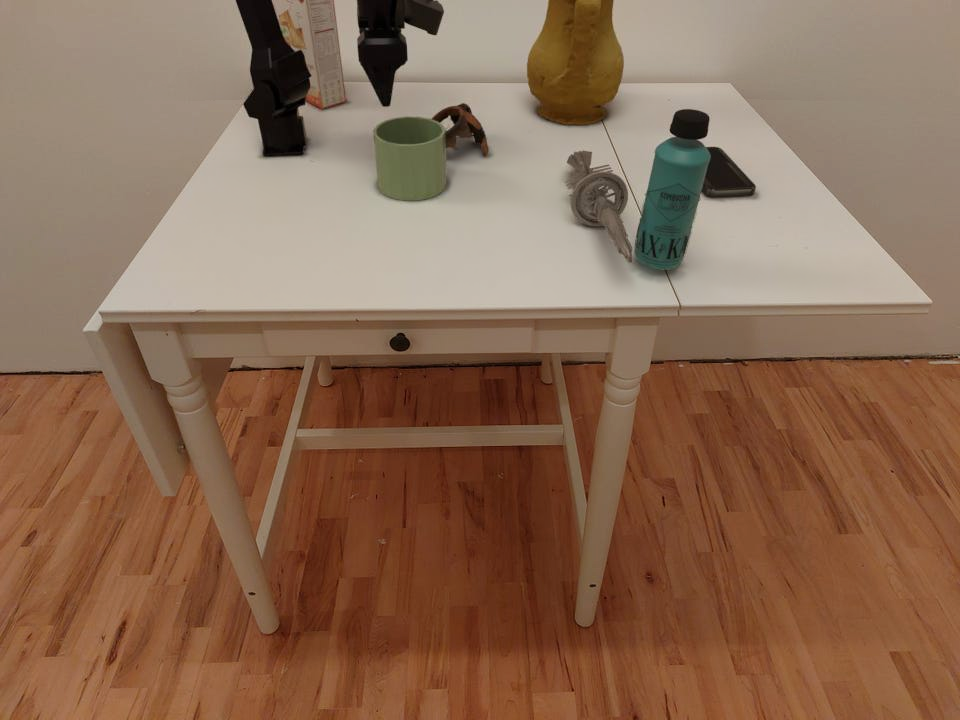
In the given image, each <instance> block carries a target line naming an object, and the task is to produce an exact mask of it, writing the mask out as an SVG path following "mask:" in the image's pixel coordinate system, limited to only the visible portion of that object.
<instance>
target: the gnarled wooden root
mask: <svg viewBox="0 0 960 720" xmlns="http://www.w3.org/2000/svg"><path fill="white" fill-rule="evenodd" d="M449 117H450V121H451V122H452V123H453V125H452V126H451V127H450V128H448V129H447V130H445V132H446V150H447V149H453V150H458V148H457V137H458V138H460V139H471V138H473V140H474V144H475V145H480V147H481V150H482V154H483V156H484V157H487V156H488V154H489V145H488V139H487V135H486V134H485V133H486V132H485V130H484V127H483V126H482V124H481V122H480V120H479V119H478V118H477V117H476V116H475V115H474V114H473V112H472V108H471V107H470V106H469V104H467V103H464V102H462V103H460V104H458V105H451V106H448V107H447V106H446V107H445V108H443V109H440V110H439V111H438V112H437V113H436V114H434V115H433V117H431V119H432V120H435V121H437V122H439V123H440V124H442V122H444V120H446V119H448V118H449Z"/></svg>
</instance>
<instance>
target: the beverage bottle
mask: <svg viewBox="0 0 960 720" xmlns="http://www.w3.org/2000/svg"><path fill="white" fill-rule="evenodd" d="M710 120H711V118H710V116H709V114H708V113H706V112H704V111H702V110H698V109H694V108H683V109H679V110H677V111H675V112H674V114H673V116H672V121H671V123H670V125H669V133H670V134H671V135H673V136H672V137H670V138H666V139H665V140H663V141H662V142H661V143H659V144H658V145H657V146H656V147H655V149H654V157H653V162H652V166H651V171H650V176H649V179H648V180H649V181H648V185H647V189H646V193H645V197H644V201H643V202H642V205H641V213H640V214H639V217H640V218H639V222H638V225H637V229H636V230H637V231H636V235H635V240H634V244H633V245H634V249H633V252H634V257H635V259H636V261H638V262H639V263H640V264H642V265H643V266H645V267H648V268H651V269H655V270H671V269H675V268H676V267H679V265H681V263H682V262H683V261H684V259H685V258H686V257H685V256H686V253H687V251H688V247H689V244H690V242H689V241H691V236H692V233H693V231H692V230H693V226H694V225H695V220H696V218H697V217H696V216H697V215H698V214H697V213H698V210H699V209H698V206H699V202H700V201H701V200H702V199H701V194H702V186H703V183H704V179H705V175H706V171H707V167H708V164H709V162H710V159H711V155H710V153H709V151H708V149H707V148H706V147H707V146H705V144H704V143H703V142H702V141H700V140H703V139H704V138H707V136H708V133H709V125H710Z"/></svg>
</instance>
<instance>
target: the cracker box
mask: <svg viewBox="0 0 960 720" xmlns="http://www.w3.org/2000/svg"><path fill="white" fill-rule="evenodd" d="M272 3H273V6H274V9H275V12H276V15H277V18H278V21H279V25H280V28H281V31H282V34H283V37H284V39H285V41H286V42H287V43H288V44H289V45H290V46H291V47H292V49H293V50H294V51H298V50H302V52H303V53H304V56H305V61H306V65H307V68H308V70H309V72H310V74H311V75H312V77H310V78H309V79H310V89H309V91H308V94H307V95H306V102H308V103H309V104H311V105H314V106H315V107H317V108H319V109H321V110H325V109H328V108H331V107H334V106H337V105H341V104H343V103H346V102H347V96H346V95H347V94H346V88H345V79H344V71H343V65H342V64H343V62H342V55H341V47H340V46H341V45H340V39H339V38H340V37H339V30H338V23H337V22H338V21H337V14H336V7H335V0H272Z"/></svg>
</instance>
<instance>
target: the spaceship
mask: <svg viewBox="0 0 960 720" xmlns="http://www.w3.org/2000/svg"><path fill="white" fill-rule="evenodd" d="M592 157H593V152H592V151H590V150H589V151H588V150H578V151H574V152H573V154H572V153H571V154H570V155H569V156H568V158H567V161H566V163H567V164H568V165H569V166H570V167H571V168H573V177H570V178H569V179H567V180H566V181H564V184H566V185H565V186H566V187H567V190H570V189H572V188H573V191H572V193H571V194H569V195H568V196H569V197H570V199H569V200H570V209H571V211H572V214H573V216H574V217H575V218H576V220H578V221H579V222H580V223H582V224H583V225H586V226H589V227H602V226H603V227H604V228H605V230H606V233H607V235H608V238H609V239H610V240H611V242H612V244H613V245H614V247H615V248H616V249H617V251H618V253H619V254H620V255H622V256H623V258H624V259H625V260H626V261H627V263H628V264H631V263H633V254H632V252H633V247H632V244H631V242H630V240H629V236H628V233H627V230H626V228H625V225H624V221H623V220H622V218H621V215H622V214H623V213H624V210H625V209H626V207H627V204H628V200H629V190H628V187H627V185H626V183H625V181H624V180H623V178H621V176H619V175H617V174H616V173H614V170H613V169H612V167H611V165H610V164H604V165H599V166H595V167H591V164H592ZM610 190H612V193H609V191H610ZM611 197H614V202H613V201H612V200H611V199H609V198H611ZM585 201H586V202H585ZM591 205H593V208H592V210H591V211H590V212H589V211H588V209H586V207H588V206H591Z"/></svg>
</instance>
